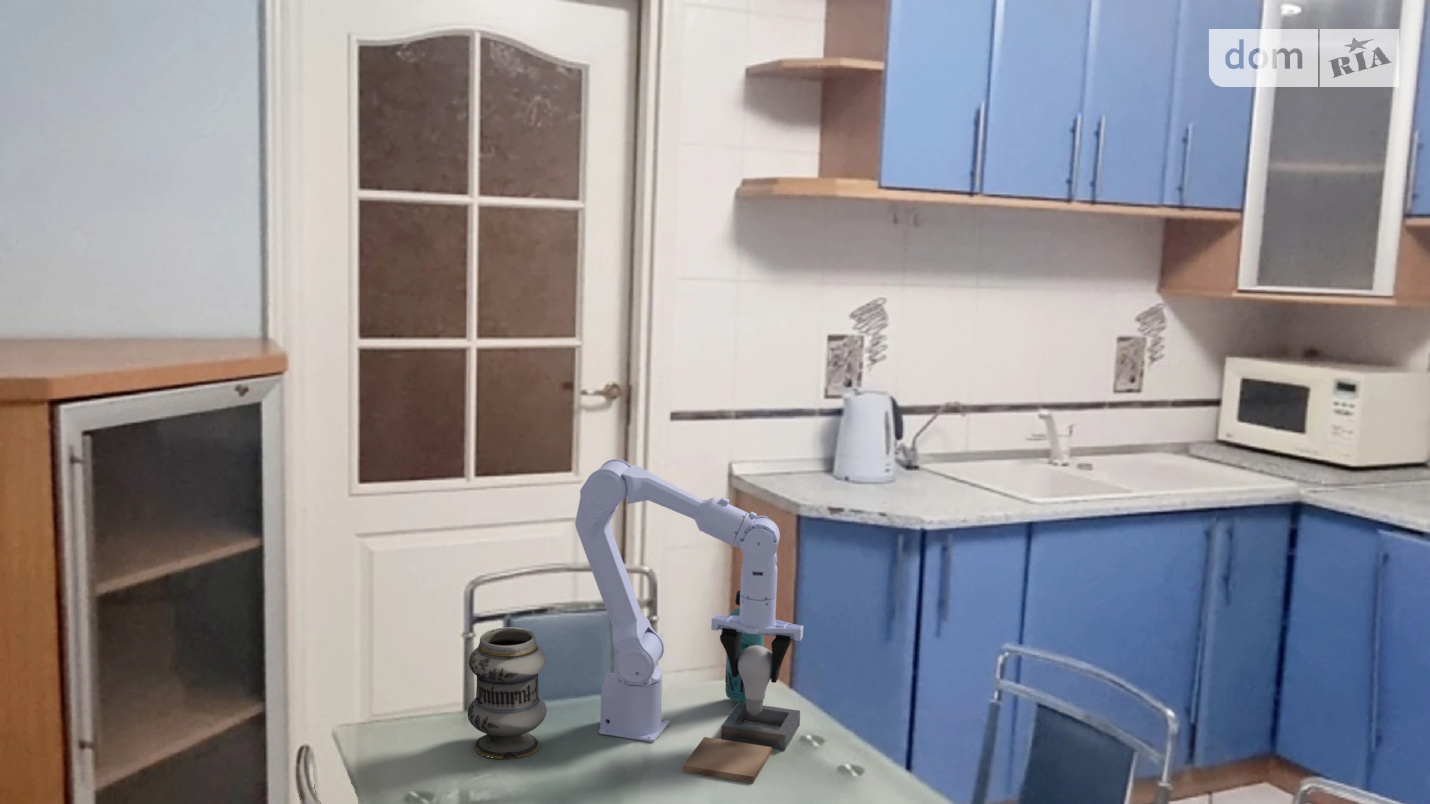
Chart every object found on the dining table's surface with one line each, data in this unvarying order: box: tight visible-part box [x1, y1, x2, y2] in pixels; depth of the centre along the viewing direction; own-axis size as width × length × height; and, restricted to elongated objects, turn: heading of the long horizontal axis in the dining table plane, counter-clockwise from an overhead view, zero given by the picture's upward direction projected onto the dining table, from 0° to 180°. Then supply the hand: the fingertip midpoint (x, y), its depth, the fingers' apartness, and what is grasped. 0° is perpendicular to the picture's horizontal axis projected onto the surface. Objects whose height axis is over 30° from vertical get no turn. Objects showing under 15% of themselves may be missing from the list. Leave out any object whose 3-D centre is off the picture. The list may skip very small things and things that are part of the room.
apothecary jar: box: [467, 626, 548, 760], centre depth 186 cm, size 12×12×18 cm
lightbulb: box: [737, 645, 772, 715], centre depth 191 cm, size 6×6×11 cm
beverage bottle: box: [724, 589, 765, 703], centre depth 206 cm, size 6×7×20 cm
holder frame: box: [720, 701, 801, 751], centre depth 195 cm, size 10×10×2 cm
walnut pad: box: [682, 736, 772, 784], centre depth 184 cm, size 11×11×1 cm
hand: (755, 677), depth 191 cm, fingers closed on lightbulb, 6 cm apart
